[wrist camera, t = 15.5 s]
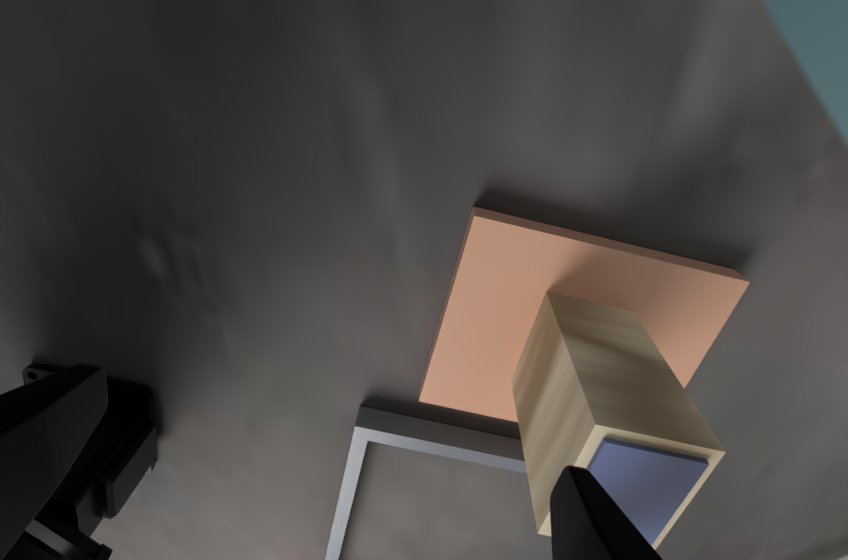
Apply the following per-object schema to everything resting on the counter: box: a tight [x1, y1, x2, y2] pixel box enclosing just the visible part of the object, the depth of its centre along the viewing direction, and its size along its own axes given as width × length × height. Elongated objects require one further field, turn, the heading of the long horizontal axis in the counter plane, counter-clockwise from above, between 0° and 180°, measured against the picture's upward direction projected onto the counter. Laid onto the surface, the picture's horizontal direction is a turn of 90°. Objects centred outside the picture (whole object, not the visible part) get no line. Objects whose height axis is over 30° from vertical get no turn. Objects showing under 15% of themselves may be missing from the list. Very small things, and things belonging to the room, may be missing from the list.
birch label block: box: [511, 292, 726, 550], centre depth 19 cm, size 4×5×8 cm
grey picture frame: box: [325, 406, 527, 560], centre depth 29 cm, size 16×16×2 cm
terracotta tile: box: [419, 206, 750, 422], centre depth 23 cm, size 12×10×1 cm
